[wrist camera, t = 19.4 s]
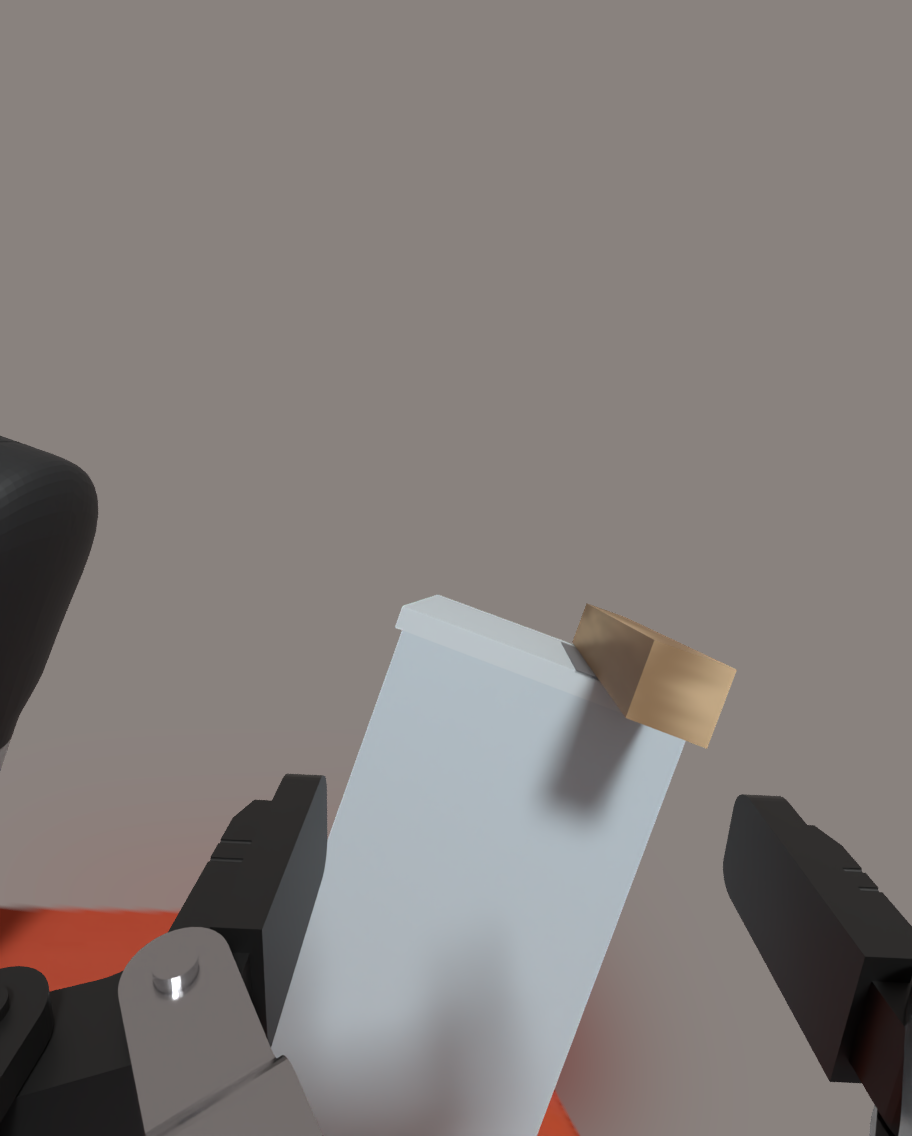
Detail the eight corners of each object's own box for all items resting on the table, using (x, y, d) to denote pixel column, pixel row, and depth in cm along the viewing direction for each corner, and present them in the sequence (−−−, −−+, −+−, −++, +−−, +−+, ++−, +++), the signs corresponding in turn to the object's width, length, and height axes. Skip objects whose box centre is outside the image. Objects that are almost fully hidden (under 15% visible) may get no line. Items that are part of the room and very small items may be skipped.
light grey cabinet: (203, 1168, 32) (403, 604, 30) (295, 994, 45) (438, 593, 43) (496, 1314, 30) (720, 722, 29) (503, 1089, 43) (658, 675, 42)
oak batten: (625, 717, 21) (654, 639, 21) (572, 642, 43) (586, 603, 43) (706, 748, 21) (736, 669, 21) (612, 656, 43) (626, 617, 43)
